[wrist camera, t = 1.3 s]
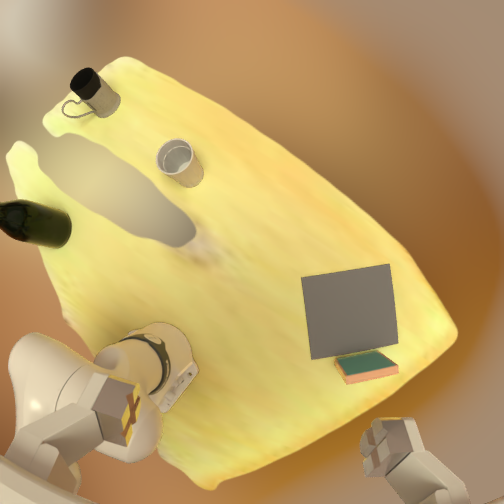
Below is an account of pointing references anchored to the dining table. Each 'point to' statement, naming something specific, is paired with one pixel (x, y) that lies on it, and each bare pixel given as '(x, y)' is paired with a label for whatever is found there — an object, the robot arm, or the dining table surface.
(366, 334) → the mat
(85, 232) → the dining table surface
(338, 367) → the tile
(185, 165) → the cup
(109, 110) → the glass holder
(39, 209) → the dark green bottle
